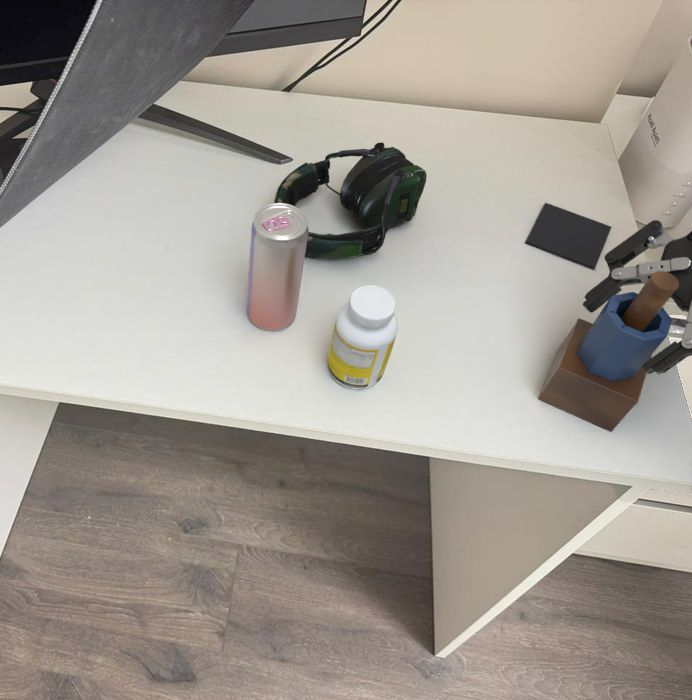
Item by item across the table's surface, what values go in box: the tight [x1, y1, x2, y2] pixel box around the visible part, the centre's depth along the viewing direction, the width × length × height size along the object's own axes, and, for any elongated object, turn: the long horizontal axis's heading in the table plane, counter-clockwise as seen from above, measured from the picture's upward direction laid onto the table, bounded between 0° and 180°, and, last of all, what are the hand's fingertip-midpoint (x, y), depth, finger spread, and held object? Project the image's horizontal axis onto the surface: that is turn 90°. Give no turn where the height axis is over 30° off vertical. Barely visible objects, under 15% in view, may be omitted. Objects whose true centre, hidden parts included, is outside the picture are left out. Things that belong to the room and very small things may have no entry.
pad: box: [524, 202, 612, 270], centre depth 94 cm, size 9×9×1 cm
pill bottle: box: [326, 284, 399, 390], centre depth 76 cm, size 6×6×12 cm
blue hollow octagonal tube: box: [577, 291, 673, 382], centre depth 72 cm, size 6×6×7 cm
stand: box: [537, 271, 679, 432], centre depth 72 cm, size 8×8×18 cm
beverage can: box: [246, 202, 310, 332], centre depth 79 cm, size 6×6×15 cm
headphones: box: [273, 142, 427, 260], centre depth 92 cm, size 13×13×20 cm
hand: (615, 338), depth 71 cm, fingers open, 8 cm apart
